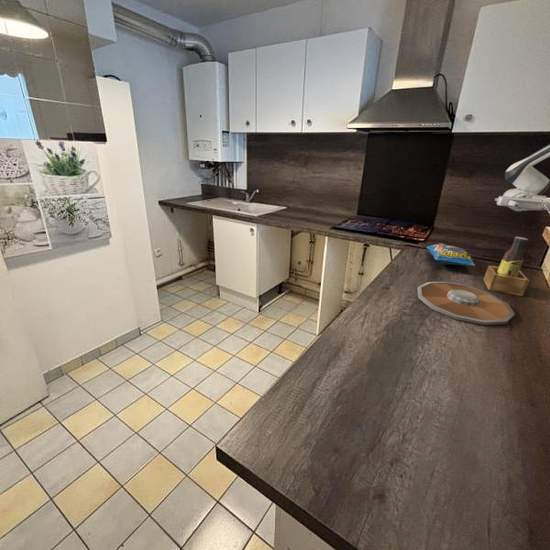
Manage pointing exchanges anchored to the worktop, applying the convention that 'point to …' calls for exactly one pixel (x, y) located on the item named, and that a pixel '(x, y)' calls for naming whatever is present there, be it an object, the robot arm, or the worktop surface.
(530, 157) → the robot arm
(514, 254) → the sauce bottle
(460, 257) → the packet
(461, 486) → the worktop surface
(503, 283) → the open wooden box
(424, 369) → the worktop surface
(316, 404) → the worktop surface
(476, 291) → the shield
